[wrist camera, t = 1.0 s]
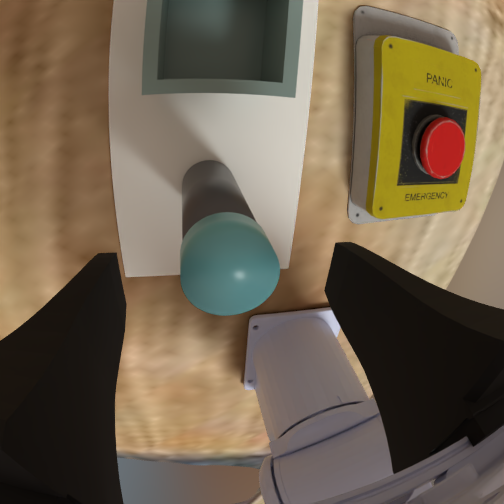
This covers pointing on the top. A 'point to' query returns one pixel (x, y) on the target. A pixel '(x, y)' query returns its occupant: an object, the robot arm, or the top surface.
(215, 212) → the marker
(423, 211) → the emergency button
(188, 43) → the grey-green hollow square block
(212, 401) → the top surface
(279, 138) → the white flat plate
